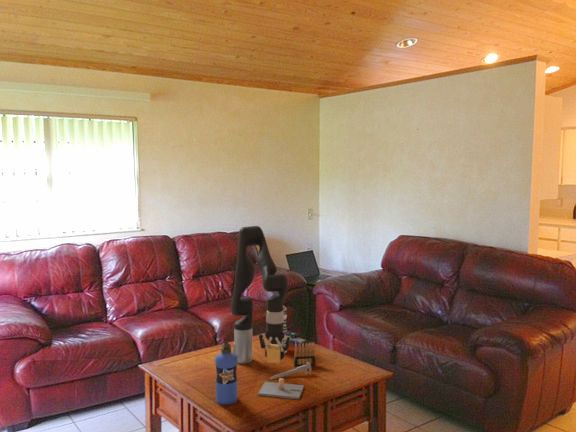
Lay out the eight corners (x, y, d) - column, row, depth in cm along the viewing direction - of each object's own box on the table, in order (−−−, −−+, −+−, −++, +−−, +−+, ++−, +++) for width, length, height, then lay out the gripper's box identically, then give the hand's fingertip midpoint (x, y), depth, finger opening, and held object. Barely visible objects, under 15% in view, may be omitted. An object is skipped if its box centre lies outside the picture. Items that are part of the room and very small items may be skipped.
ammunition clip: (314, 364, 251) (314, 341, 250) (315, 365, 249) (315, 342, 248) (293, 365, 250) (293, 342, 249) (294, 366, 248) (294, 343, 247)
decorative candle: (269, 348, 273) (269, 304, 271) (285, 347, 275) (285, 303, 273) (272, 354, 264) (272, 308, 262) (289, 353, 266) (289, 307, 264)
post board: (258, 395, 216) (258, 383, 216) (265, 383, 228) (265, 372, 228) (298, 399, 213) (298, 386, 212) (303, 387, 224) (303, 375, 224)
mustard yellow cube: (266, 362, 213) (266, 348, 212) (270, 357, 218) (270, 343, 218) (279, 363, 212) (279, 349, 211) (282, 358, 217) (282, 344, 216)
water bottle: (238, 404, 209) (238, 346, 206) (216, 406, 207) (215, 347, 204) (236, 394, 218) (236, 338, 215) (215, 396, 216) (214, 340, 213)
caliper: (310, 373, 240) (310, 361, 240) (311, 374, 239) (311, 361, 239) (270, 379, 234) (270, 366, 234) (270, 379, 233) (270, 366, 233)
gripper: (256, 321, 211) (256, 360, 213) (289, 324, 208) (289, 363, 210) (261, 316, 218) (261, 353, 220) (293, 319, 215) (292, 356, 217)
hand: (274, 358), depth 215 cm, fingers closed on mustard yellow cube, 5 cm apart
